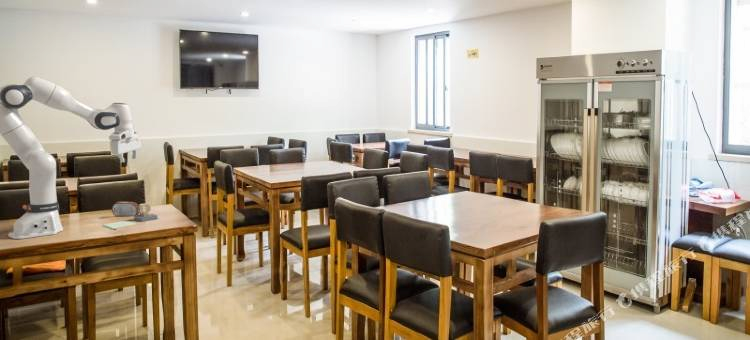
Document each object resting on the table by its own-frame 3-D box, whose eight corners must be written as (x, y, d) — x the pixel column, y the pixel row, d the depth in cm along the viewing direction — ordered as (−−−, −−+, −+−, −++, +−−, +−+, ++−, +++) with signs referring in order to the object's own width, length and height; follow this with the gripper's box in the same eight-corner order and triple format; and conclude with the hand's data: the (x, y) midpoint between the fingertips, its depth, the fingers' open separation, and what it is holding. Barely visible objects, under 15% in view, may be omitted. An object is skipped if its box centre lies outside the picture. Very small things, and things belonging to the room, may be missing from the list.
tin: (140, 216, 299) (139, 201, 298) (137, 217, 296) (136, 202, 294) (114, 216, 300) (113, 201, 299) (111, 217, 297) (110, 202, 296)
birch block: (144, 220, 285) (143, 205, 284) (140, 219, 287) (139, 204, 286) (151, 219, 288) (150, 204, 287) (147, 217, 290) (146, 203, 289)
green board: (113, 230, 268) (113, 228, 268) (102, 226, 276) (102, 224, 276) (137, 225, 277) (137, 223, 277) (126, 222, 285) (126, 220, 285)
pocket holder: (141, 224, 281) (141, 218, 280) (132, 221, 287) (131, 215, 287) (159, 220, 288) (159, 215, 288) (150, 218, 295) (150, 212, 294)
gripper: (131, 131, 293) (135, 156, 296) (106, 137, 274) (110, 164, 276) (142, 131, 292) (146, 156, 295) (117, 136, 272) (121, 164, 275)
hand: (128, 160), depth 285 cm, fingers open, 8 cm apart
